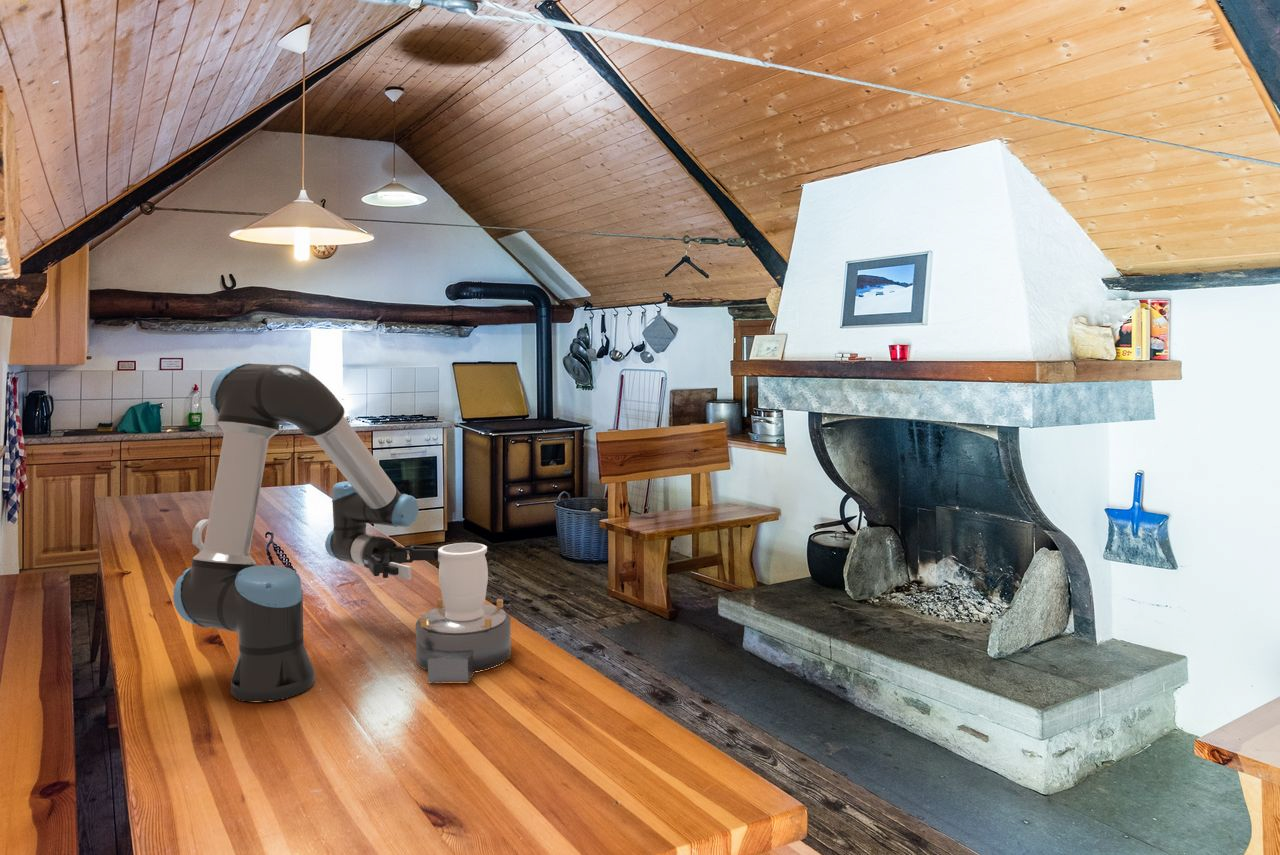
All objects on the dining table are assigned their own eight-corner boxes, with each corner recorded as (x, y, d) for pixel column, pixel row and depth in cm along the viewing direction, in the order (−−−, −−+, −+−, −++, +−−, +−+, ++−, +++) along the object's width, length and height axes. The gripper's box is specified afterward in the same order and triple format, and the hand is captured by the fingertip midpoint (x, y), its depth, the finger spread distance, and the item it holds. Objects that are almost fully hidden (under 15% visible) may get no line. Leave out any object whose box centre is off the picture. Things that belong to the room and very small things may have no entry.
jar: (435, 612, 184) (433, 545, 183) (482, 605, 188) (480, 540, 187) (445, 626, 174) (443, 556, 173) (494, 619, 179) (492, 550, 177)
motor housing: (498, 683, 168) (497, 632, 166) (398, 683, 168) (396, 631, 167) (517, 640, 192) (517, 595, 191) (430, 639, 192) (429, 594, 191)
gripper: (418, 556, 208) (477, 570, 196) (328, 579, 188) (388, 596, 176) (417, 527, 208) (476, 539, 195) (327, 546, 188) (387, 561, 175)
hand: (435, 566), depth 186 cm, fingers open, 13 cm apart
